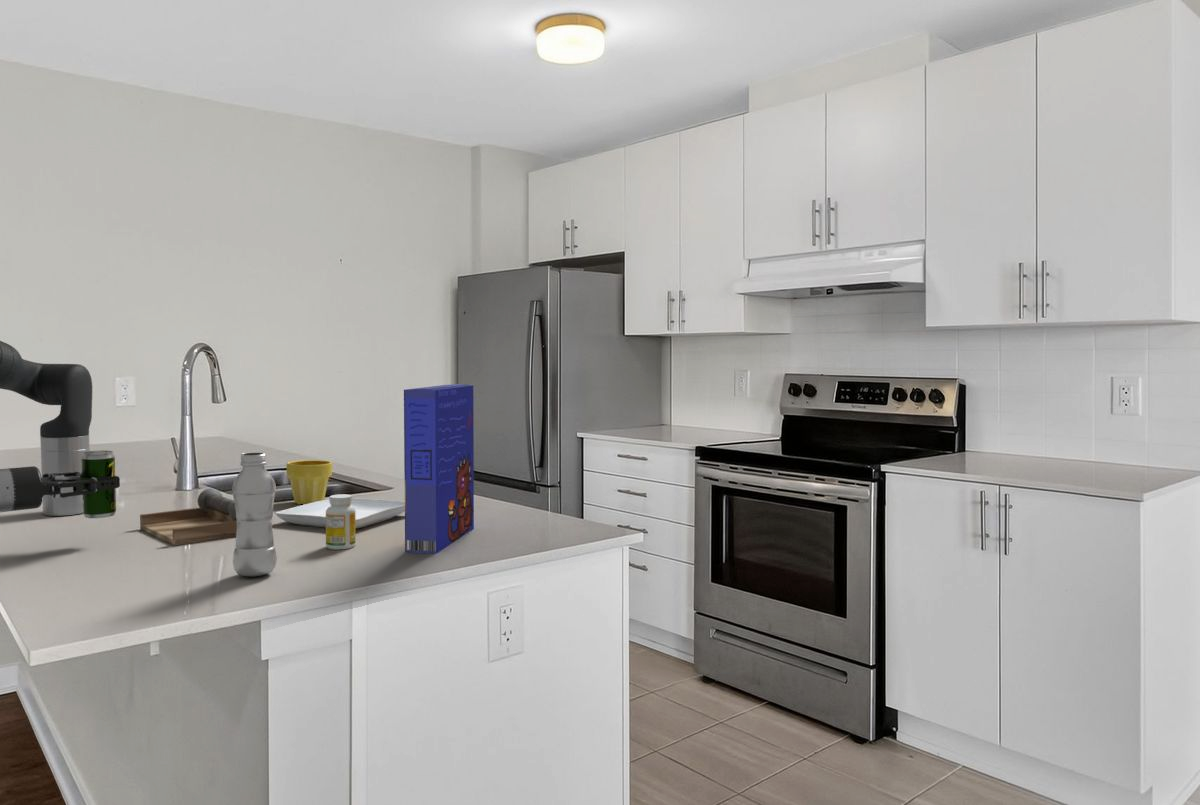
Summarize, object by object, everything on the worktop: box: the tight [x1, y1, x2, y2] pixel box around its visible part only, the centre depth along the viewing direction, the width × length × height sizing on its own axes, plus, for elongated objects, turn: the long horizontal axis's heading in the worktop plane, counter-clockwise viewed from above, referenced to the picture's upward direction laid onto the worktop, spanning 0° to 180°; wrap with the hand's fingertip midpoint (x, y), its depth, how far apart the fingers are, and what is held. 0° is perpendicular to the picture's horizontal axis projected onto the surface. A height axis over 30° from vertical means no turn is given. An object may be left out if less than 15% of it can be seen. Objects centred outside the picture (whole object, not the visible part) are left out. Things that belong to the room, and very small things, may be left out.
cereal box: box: [403, 383, 475, 555], centre depth 165 cm, size 22×6×30 cm, turn 170°
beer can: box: [81, 449, 117, 519], centre depth 159 cm, size 5×5×12 cm
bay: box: [139, 487, 237, 546], centre depth 172 cm, size 20×16×7 cm
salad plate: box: [275, 497, 405, 530], centre depth 184 cm, size 21×21×3 cm
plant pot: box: [286, 459, 333, 505], centre depth 205 cm, size 10×10×10 cm
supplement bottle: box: [325, 493, 357, 551], centre depth 159 cm, size 5×5×10 cm
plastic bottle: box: [231, 452, 278, 578], centre depth 139 cm, size 6×7×20 cm
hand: (113, 479), depth 161 cm, fingers closed on beer can, 5 cm apart
